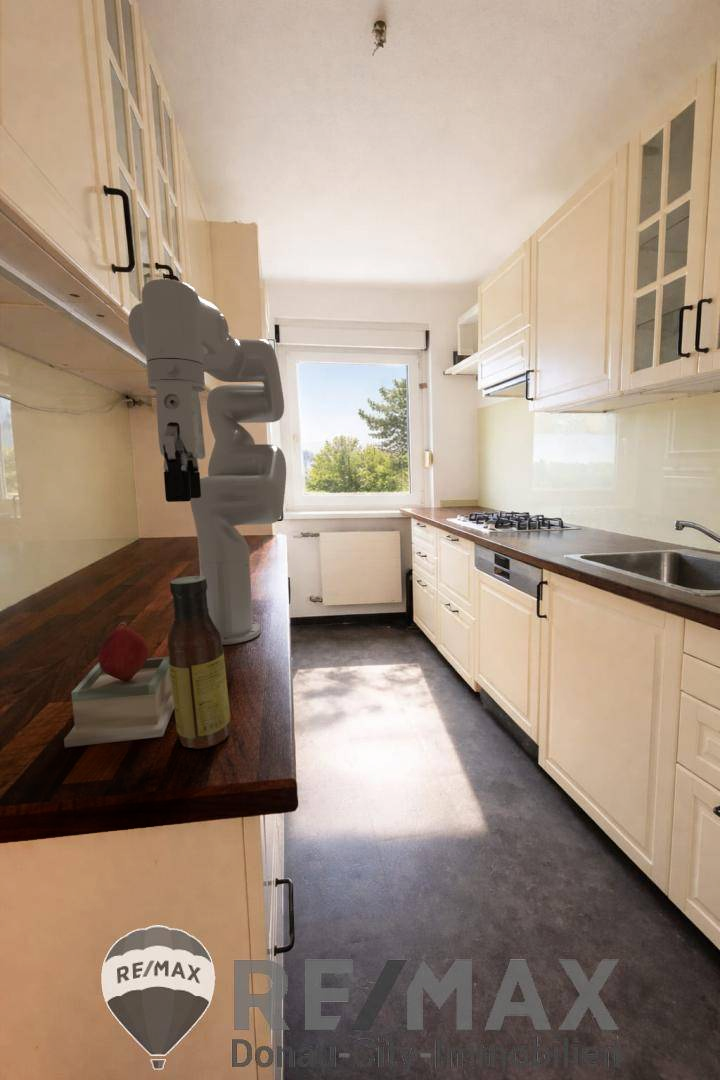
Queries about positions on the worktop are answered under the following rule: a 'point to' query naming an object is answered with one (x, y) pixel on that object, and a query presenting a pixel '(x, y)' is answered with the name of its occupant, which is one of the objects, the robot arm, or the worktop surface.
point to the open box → (122, 705)
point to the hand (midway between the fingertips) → (184, 499)
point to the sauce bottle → (197, 667)
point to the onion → (123, 653)
